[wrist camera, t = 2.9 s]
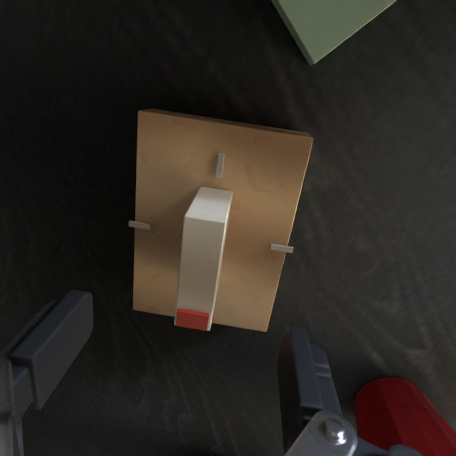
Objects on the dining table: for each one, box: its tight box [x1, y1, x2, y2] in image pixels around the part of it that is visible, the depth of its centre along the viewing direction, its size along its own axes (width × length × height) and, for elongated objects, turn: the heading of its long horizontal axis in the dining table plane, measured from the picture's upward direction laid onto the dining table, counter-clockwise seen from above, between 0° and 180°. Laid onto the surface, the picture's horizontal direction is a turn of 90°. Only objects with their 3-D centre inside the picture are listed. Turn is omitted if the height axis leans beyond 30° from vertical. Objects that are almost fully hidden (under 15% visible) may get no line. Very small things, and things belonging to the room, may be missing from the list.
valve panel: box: [129, 108, 313, 332], centre depth 22 cm, size 14×11×3 cm
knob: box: [174, 187, 233, 331], centre depth 18 cm, size 6×2×5 cm, turn 172°
